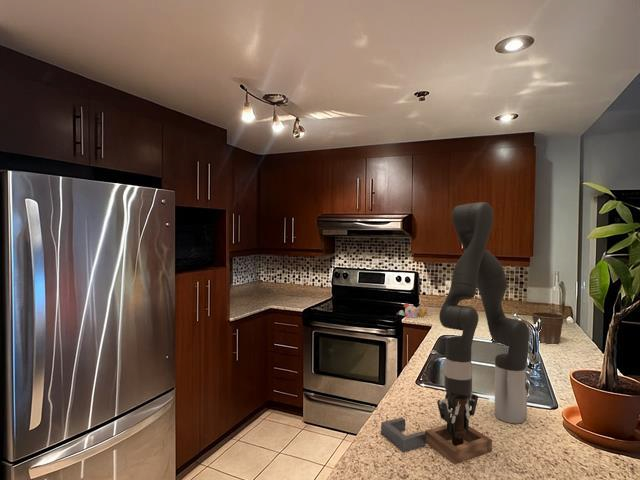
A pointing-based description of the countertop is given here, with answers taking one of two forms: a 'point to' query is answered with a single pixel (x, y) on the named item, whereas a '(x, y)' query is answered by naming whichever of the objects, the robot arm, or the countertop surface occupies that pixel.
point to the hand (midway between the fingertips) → (457, 432)
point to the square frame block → (456, 454)
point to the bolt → (459, 422)
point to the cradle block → (402, 435)
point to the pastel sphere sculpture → (413, 311)
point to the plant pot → (549, 327)
